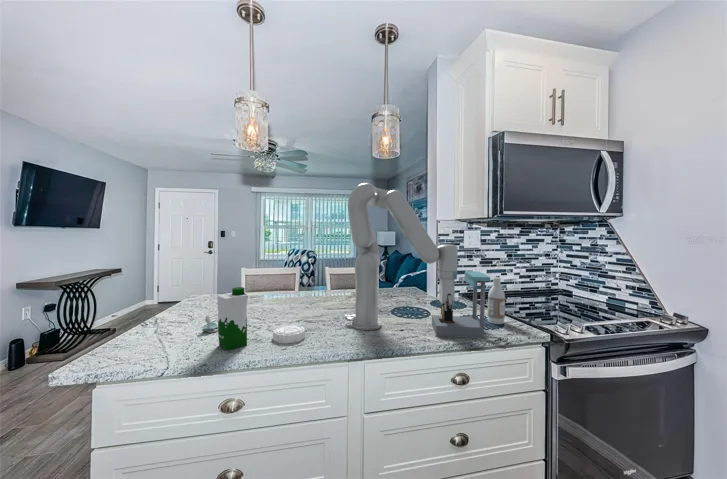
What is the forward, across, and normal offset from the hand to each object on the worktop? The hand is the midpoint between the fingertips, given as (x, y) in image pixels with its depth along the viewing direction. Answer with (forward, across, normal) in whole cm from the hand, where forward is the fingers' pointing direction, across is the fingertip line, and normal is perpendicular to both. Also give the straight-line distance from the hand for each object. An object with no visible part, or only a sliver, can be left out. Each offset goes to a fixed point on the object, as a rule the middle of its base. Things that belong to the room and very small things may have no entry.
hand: (446, 317), depth 126 cm
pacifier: (+6, +12, -94) cm, 95 cm away
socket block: (+5, 0, +4) cm, 7 cm away
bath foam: (+6, -14, +24) cm, 28 cm away
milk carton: (+6, +25, -78) cm, 82 cm away
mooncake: (+6, +15, -61) cm, 63 cm away
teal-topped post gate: (+5, 0, +12) cm, 13 cm away
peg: (+5, 0, 0) cm, 5 cm away
